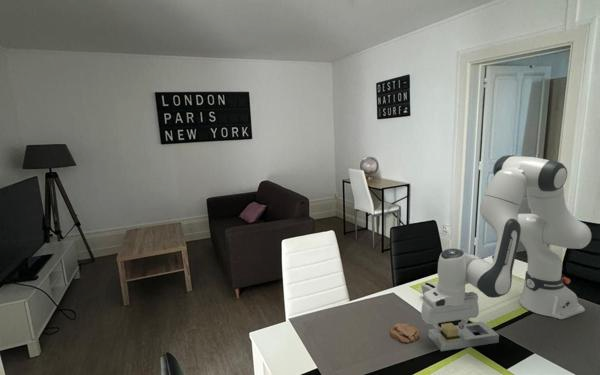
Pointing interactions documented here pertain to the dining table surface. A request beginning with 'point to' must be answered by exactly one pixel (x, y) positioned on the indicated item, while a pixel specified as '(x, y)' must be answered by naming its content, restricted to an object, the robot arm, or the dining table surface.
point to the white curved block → (428, 286)
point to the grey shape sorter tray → (466, 337)
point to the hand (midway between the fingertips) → (449, 330)
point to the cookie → (404, 333)
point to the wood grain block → (449, 331)
